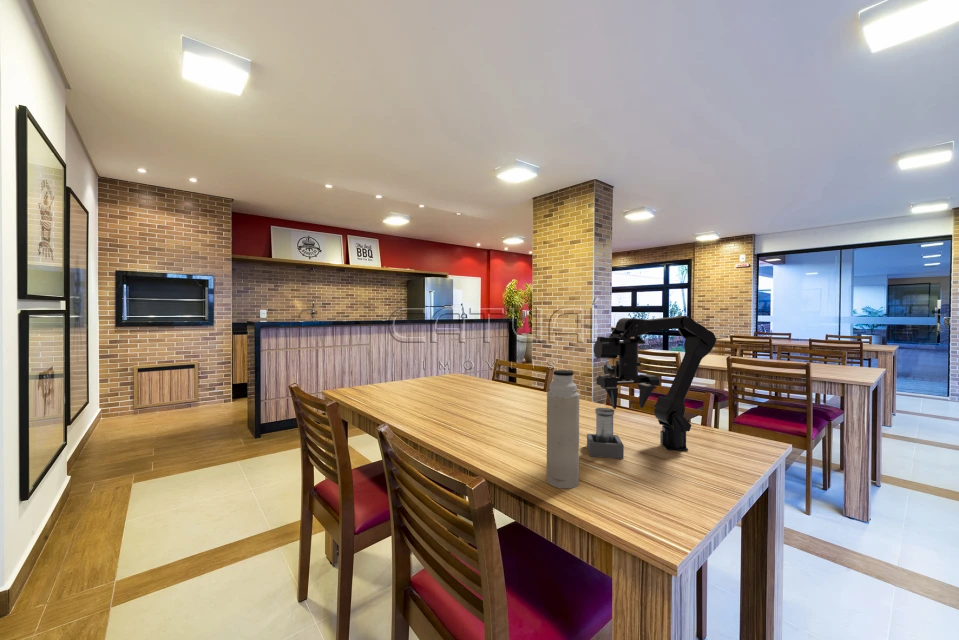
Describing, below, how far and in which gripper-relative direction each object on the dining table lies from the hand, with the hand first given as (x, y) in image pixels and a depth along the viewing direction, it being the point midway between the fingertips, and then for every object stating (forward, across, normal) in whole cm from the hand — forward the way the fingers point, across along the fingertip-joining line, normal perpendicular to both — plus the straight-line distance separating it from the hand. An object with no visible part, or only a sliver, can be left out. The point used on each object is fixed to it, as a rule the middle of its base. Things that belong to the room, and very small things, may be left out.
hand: (627, 408), depth 119 cm
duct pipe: (+13, +8, +1) cm, 15 cm away
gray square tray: (+13, +8, +1) cm, 15 cm away
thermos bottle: (+13, +29, +18) cm, 37 cm away
